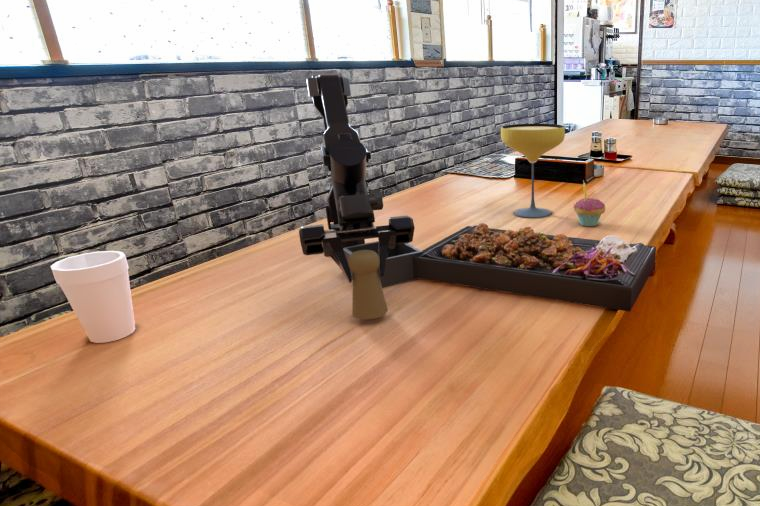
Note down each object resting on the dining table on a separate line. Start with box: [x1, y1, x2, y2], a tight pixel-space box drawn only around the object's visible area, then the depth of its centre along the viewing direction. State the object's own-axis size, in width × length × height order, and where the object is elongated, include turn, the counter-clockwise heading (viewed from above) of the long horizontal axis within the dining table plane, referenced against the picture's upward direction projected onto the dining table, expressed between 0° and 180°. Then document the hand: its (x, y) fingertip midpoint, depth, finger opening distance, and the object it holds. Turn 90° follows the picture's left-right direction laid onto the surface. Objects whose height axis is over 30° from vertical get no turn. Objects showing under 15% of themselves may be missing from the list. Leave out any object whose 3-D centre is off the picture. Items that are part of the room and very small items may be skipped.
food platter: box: [412, 222, 657, 313], centre depth 109 cm, size 45×25×10 cm, turn 66°
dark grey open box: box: [343, 240, 423, 288], centre depth 111 cm, size 13×13×6 cm
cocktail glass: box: [500, 123, 566, 219], centre depth 153 cm, size 18×18×25 cm
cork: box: [348, 250, 389, 320], centre depth 90 cm, size 6×6×11 cm
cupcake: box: [573, 179, 606, 227], centre depth 144 cm, size 9×8×12 cm
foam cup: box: [50, 250, 136, 344], centre depth 86 cm, size 10×9×13 cm
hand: (366, 279), depth 88 cm, fingers closed on cork, 5 cm apart
